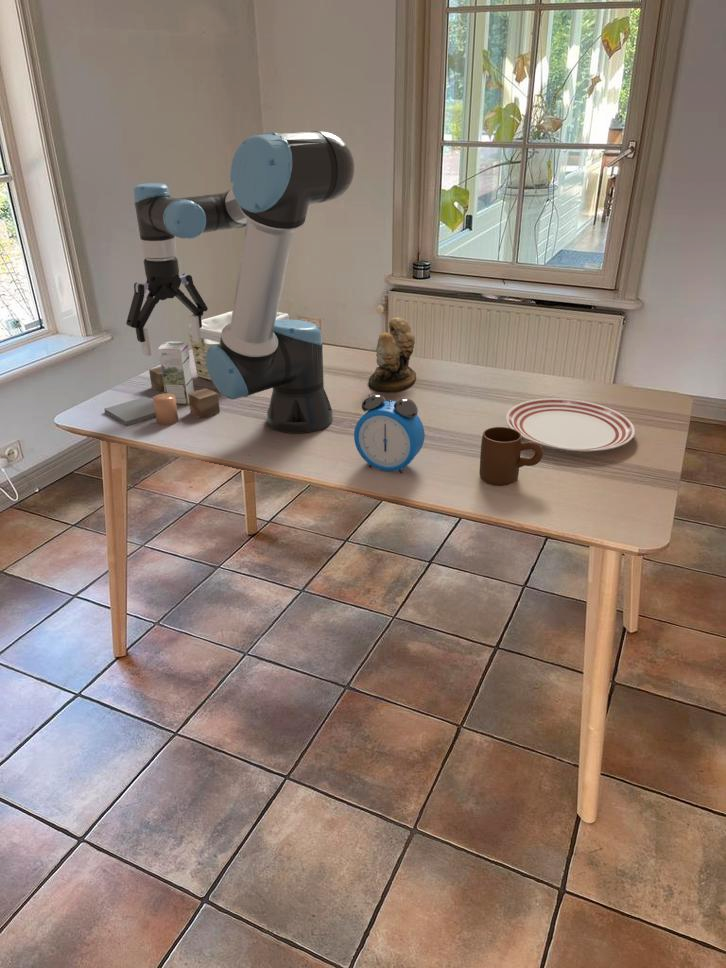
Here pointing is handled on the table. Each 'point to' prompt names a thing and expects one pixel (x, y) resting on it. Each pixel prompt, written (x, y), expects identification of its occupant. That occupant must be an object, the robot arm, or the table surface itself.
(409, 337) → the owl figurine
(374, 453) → the alarm clock
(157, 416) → the terracotta cylinder
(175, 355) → the syrup box
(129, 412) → the slate tile
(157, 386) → the dark oak block
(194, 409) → the walnut block
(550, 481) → the table surface
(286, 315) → the storage basket
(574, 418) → the dinner plate
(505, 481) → the mug
